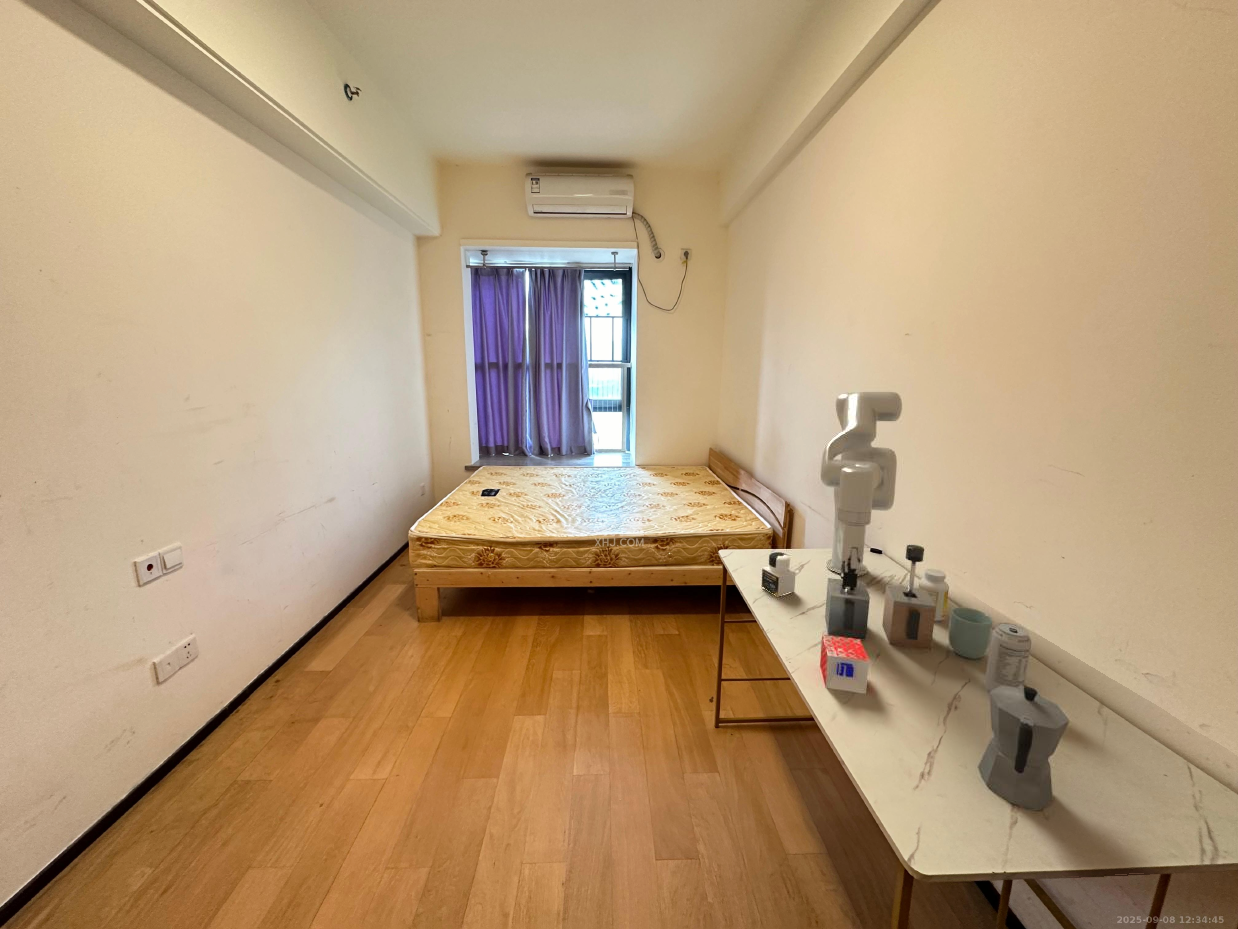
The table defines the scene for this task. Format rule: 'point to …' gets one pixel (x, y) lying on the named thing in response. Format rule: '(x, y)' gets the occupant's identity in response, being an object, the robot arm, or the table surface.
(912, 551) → the plunger
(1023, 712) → the coffeepot
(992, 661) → the energy drink can
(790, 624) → the table surface
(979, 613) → the cup
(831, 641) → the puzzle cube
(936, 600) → the supplement bottle
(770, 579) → the medicine bottle
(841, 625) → the grey joystick box
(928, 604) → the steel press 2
